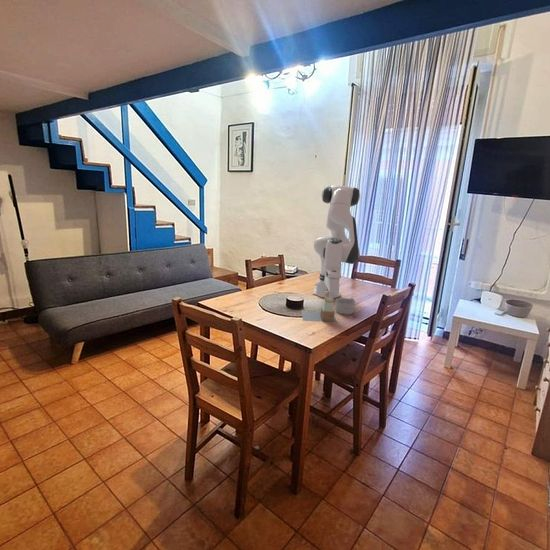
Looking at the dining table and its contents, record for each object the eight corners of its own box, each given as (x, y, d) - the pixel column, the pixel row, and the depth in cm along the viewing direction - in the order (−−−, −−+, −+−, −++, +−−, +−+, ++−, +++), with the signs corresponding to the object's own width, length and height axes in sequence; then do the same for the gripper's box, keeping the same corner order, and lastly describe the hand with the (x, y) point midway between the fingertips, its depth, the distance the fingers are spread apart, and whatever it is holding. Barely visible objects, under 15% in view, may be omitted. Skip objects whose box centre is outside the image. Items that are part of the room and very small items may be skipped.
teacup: (344, 318, 179) (346, 304, 177) (330, 312, 187) (331, 298, 185) (361, 314, 187) (363, 301, 185) (347, 308, 195) (348, 295, 193)
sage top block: (322, 308, 175) (323, 299, 174) (331, 308, 175) (332, 299, 174) (323, 311, 170) (324, 302, 169) (333, 312, 170) (334, 302, 169)
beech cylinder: (324, 299, 173) (324, 290, 172) (332, 299, 174) (333, 290, 172) (325, 302, 169) (326, 292, 168) (333, 302, 169) (334, 293, 168)
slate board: (300, 312, 184) (300, 310, 183) (332, 314, 184) (333, 312, 184) (302, 322, 170) (302, 320, 170) (337, 324, 170) (337, 322, 170)
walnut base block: (320, 316, 177) (321, 307, 175) (331, 317, 177) (332, 308, 176) (321, 320, 171) (322, 311, 170) (333, 321, 171) (334, 312, 170)
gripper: (323, 265, 177) (320, 290, 181) (328, 275, 157) (326, 302, 161) (334, 266, 177) (331, 290, 181) (341, 275, 158) (338, 303, 161)
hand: (329, 296), depth 171 cm, fingers open, 8 cm apart
